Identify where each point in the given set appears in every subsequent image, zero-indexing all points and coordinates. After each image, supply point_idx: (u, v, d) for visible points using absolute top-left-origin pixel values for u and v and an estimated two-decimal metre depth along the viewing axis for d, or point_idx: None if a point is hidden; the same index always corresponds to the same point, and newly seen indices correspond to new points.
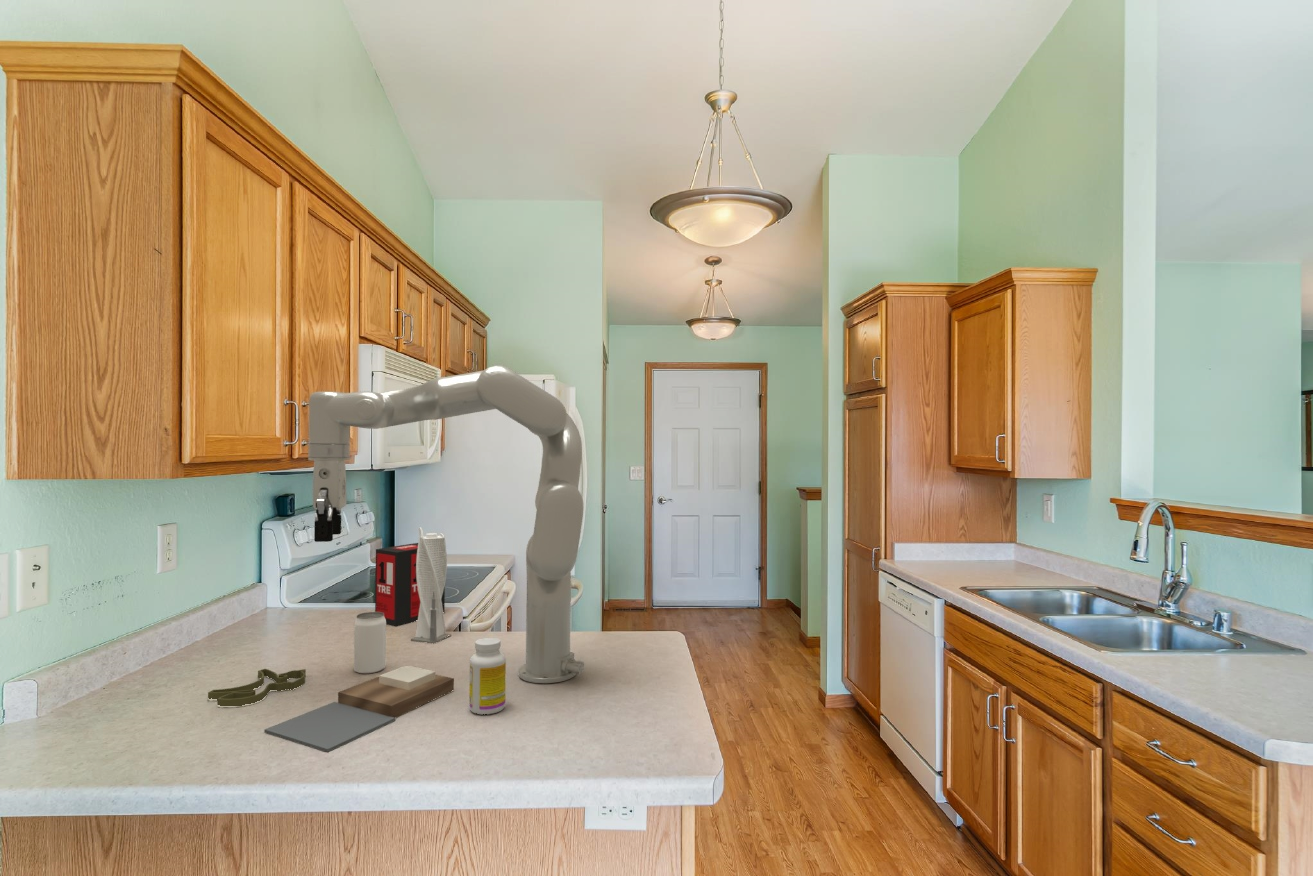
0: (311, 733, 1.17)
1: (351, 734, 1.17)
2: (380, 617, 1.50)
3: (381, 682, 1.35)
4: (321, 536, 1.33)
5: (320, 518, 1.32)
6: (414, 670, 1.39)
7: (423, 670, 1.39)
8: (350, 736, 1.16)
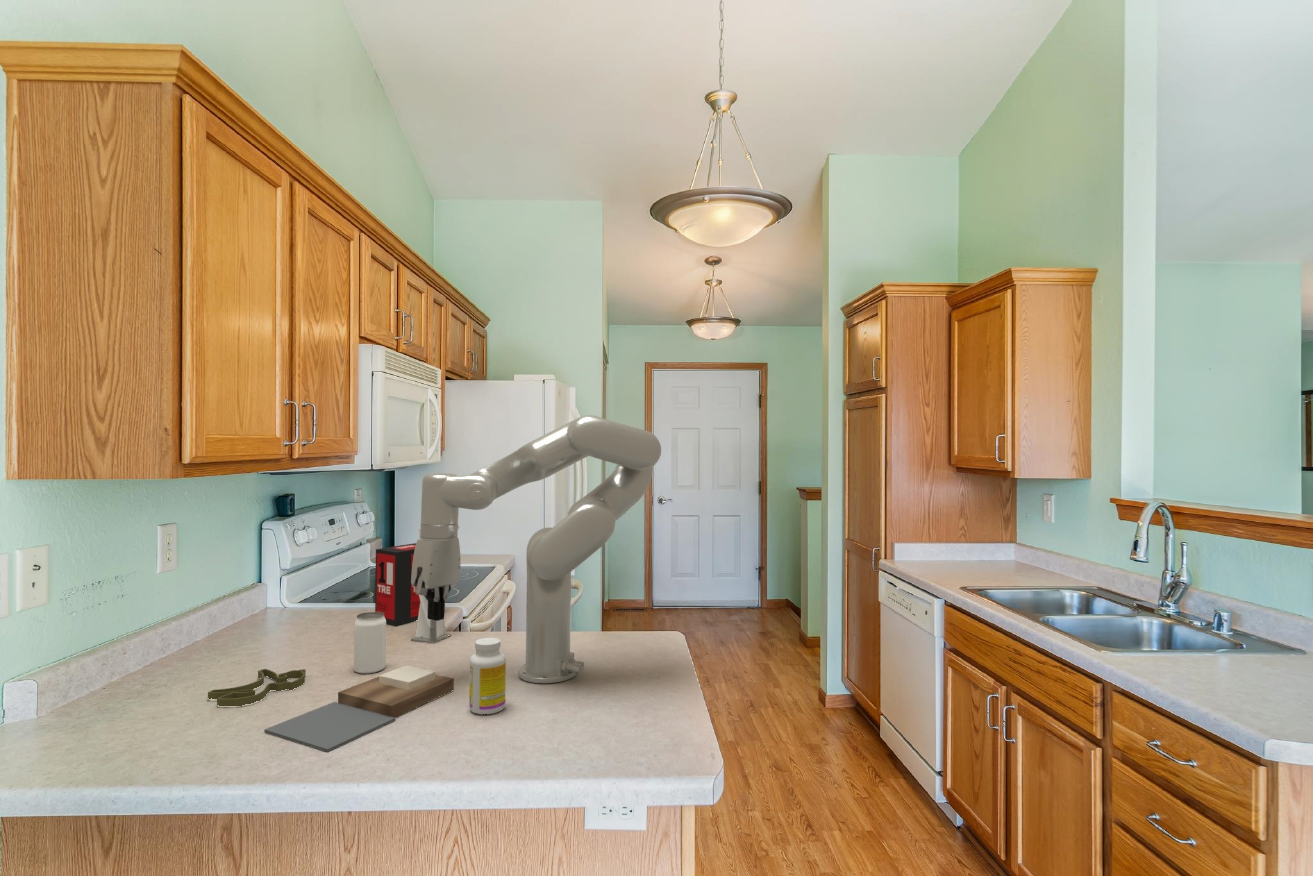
0: (311, 733, 1.17)
1: (351, 734, 1.17)
2: (380, 617, 1.50)
3: (381, 682, 1.35)
4: None
5: None
6: (414, 670, 1.39)
7: (423, 670, 1.39)
8: (350, 736, 1.16)
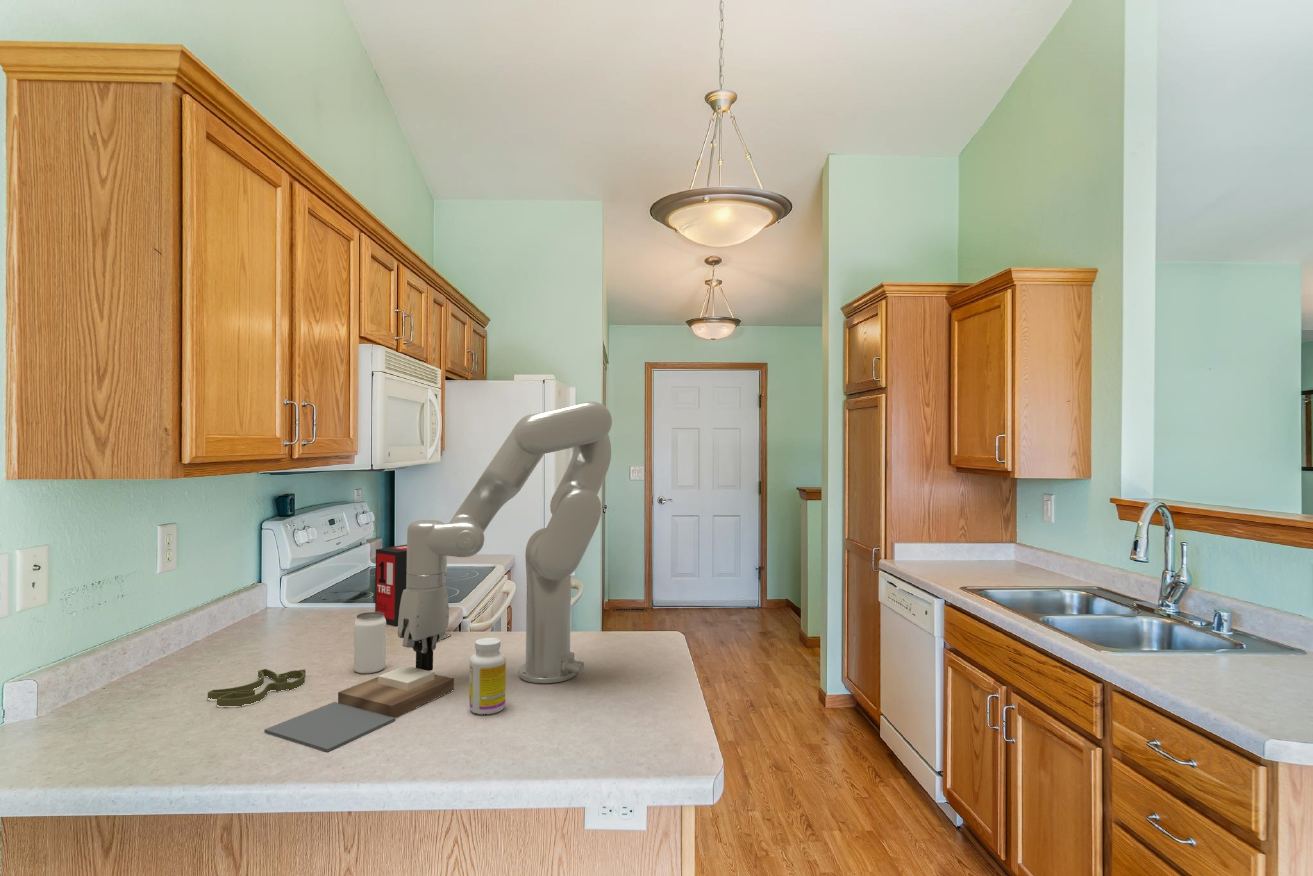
0: (311, 733, 1.17)
1: (351, 734, 1.17)
2: (380, 617, 1.50)
3: (380, 682, 1.35)
4: None
5: None
6: (413, 670, 1.38)
7: (422, 670, 1.38)
8: (350, 736, 1.16)
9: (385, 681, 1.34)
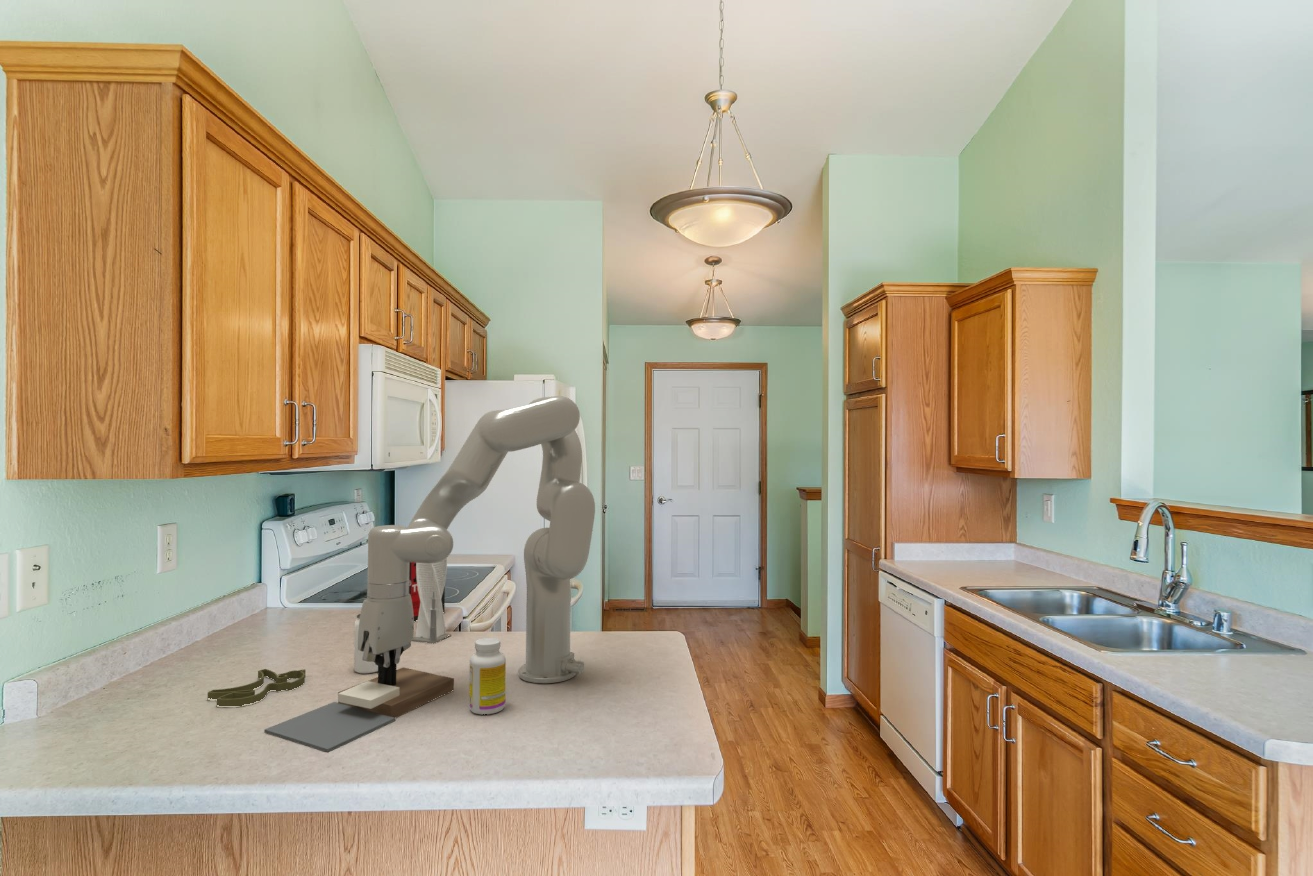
0: (311, 733, 1.17)
1: (351, 734, 1.17)
2: None
3: (340, 700, 1.26)
4: None
5: None
6: (376, 686, 1.29)
7: (386, 686, 1.30)
8: (350, 736, 1.16)
9: (346, 699, 1.25)
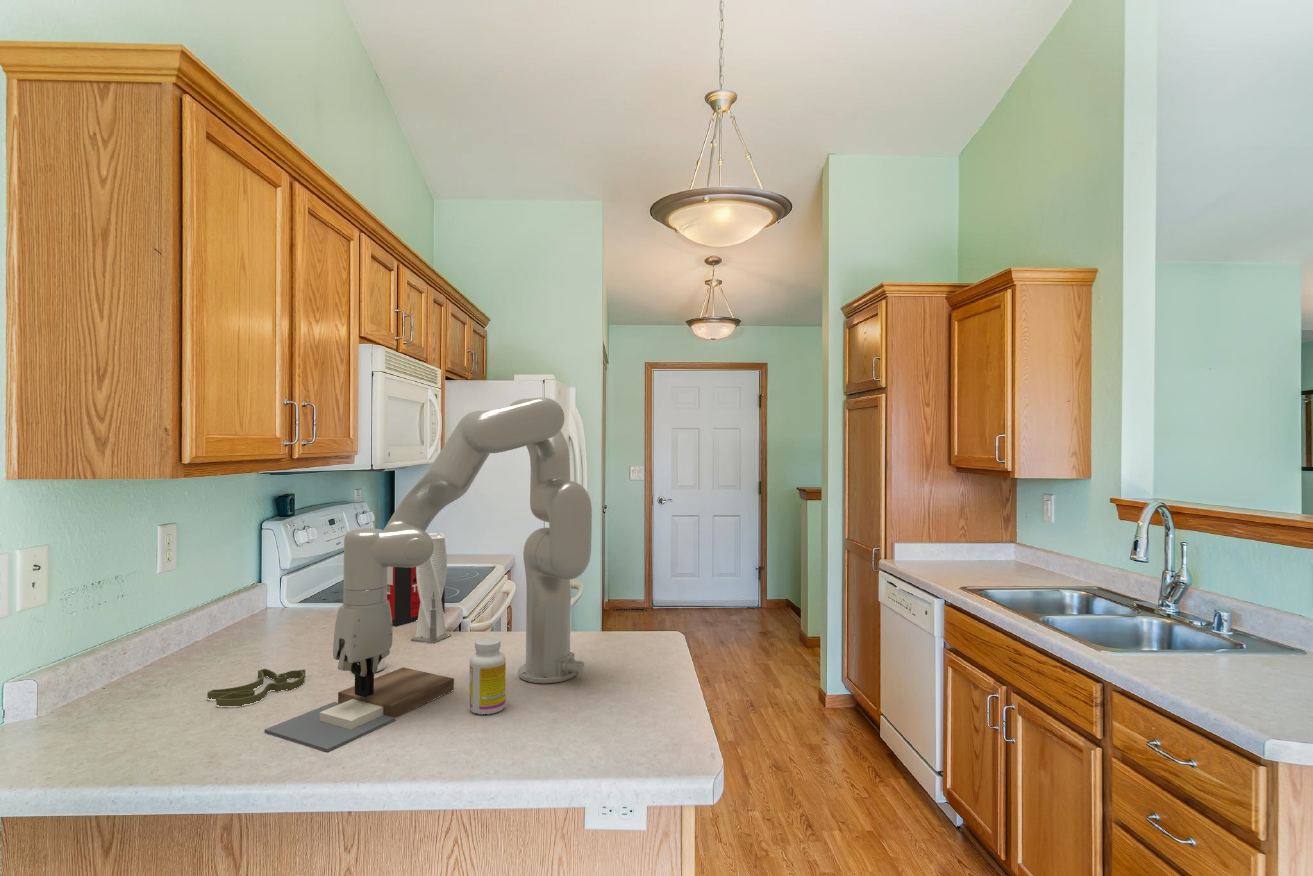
0: (311, 733, 1.17)
1: (351, 734, 1.17)
2: None
3: (322, 719, 1.22)
4: None
5: None
6: (360, 705, 1.25)
7: (370, 705, 1.26)
8: (350, 736, 1.16)
9: (327, 718, 1.21)
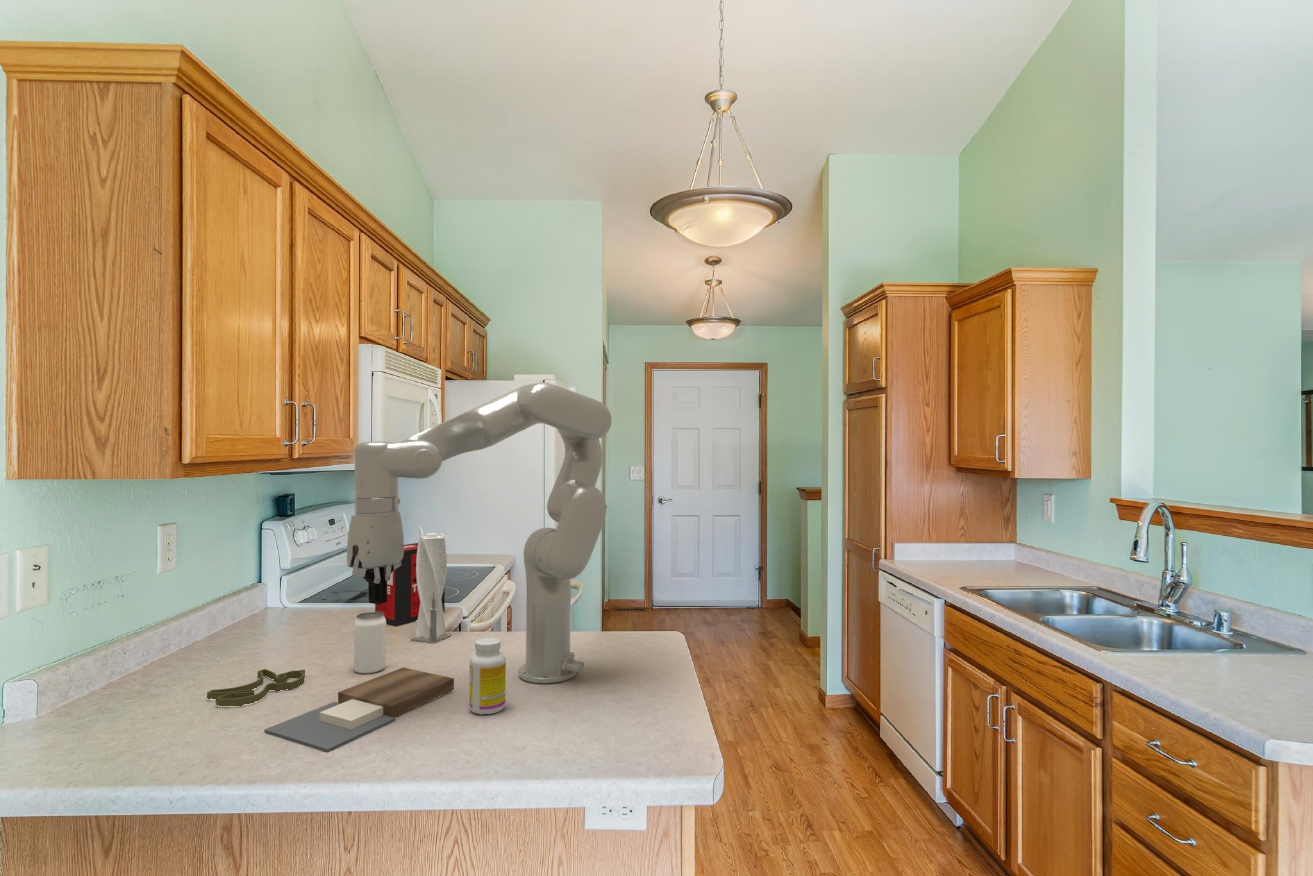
0: (311, 733, 1.17)
1: (351, 734, 1.17)
2: (380, 617, 1.50)
3: (322, 719, 1.22)
4: None
5: None
6: (360, 705, 1.25)
7: (370, 705, 1.26)
8: (350, 736, 1.16)
9: (327, 718, 1.21)
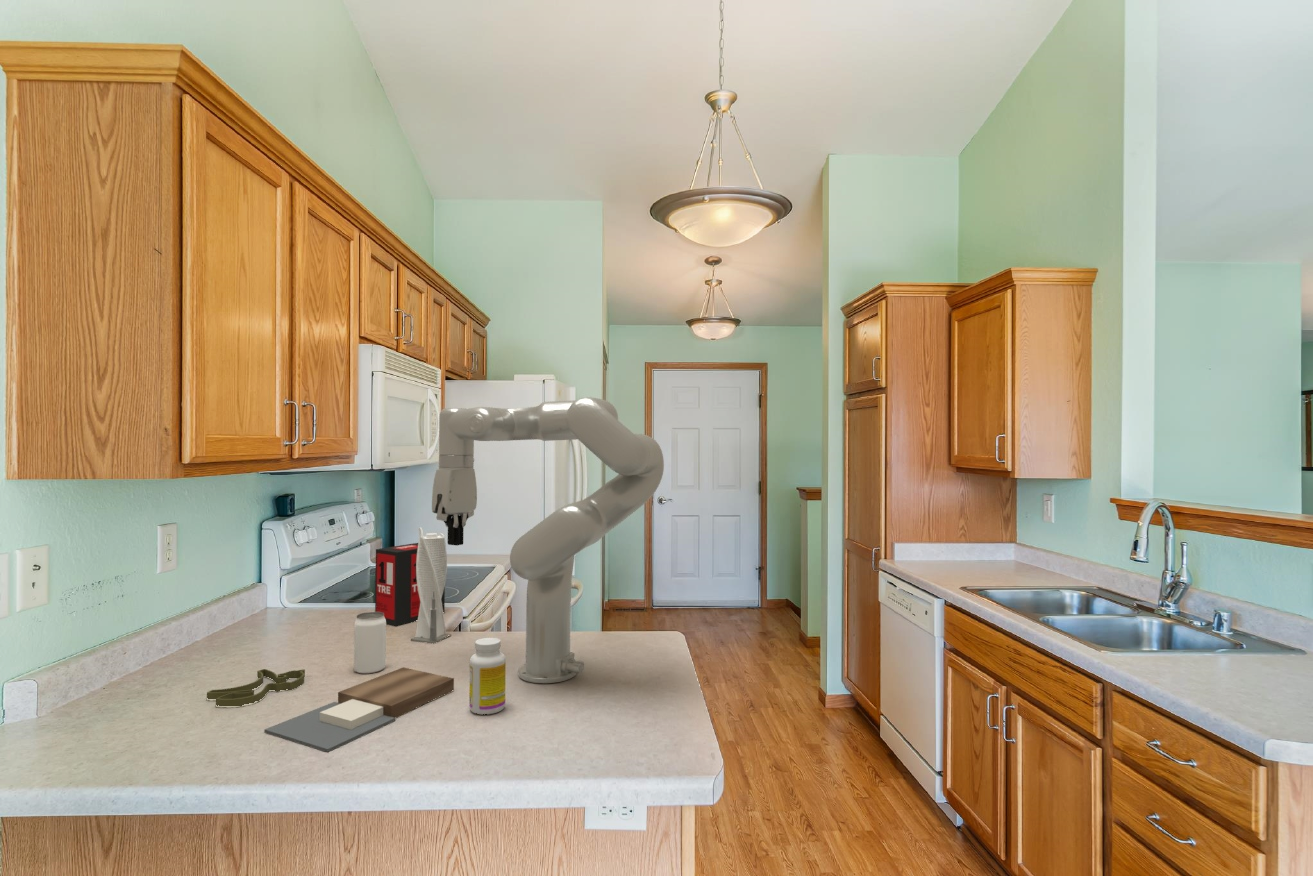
0: (311, 733, 1.17)
1: (351, 734, 1.17)
2: (380, 617, 1.50)
3: (322, 719, 1.22)
4: None
5: None
6: (360, 705, 1.25)
7: (370, 705, 1.26)
8: (350, 736, 1.16)
9: (327, 718, 1.21)
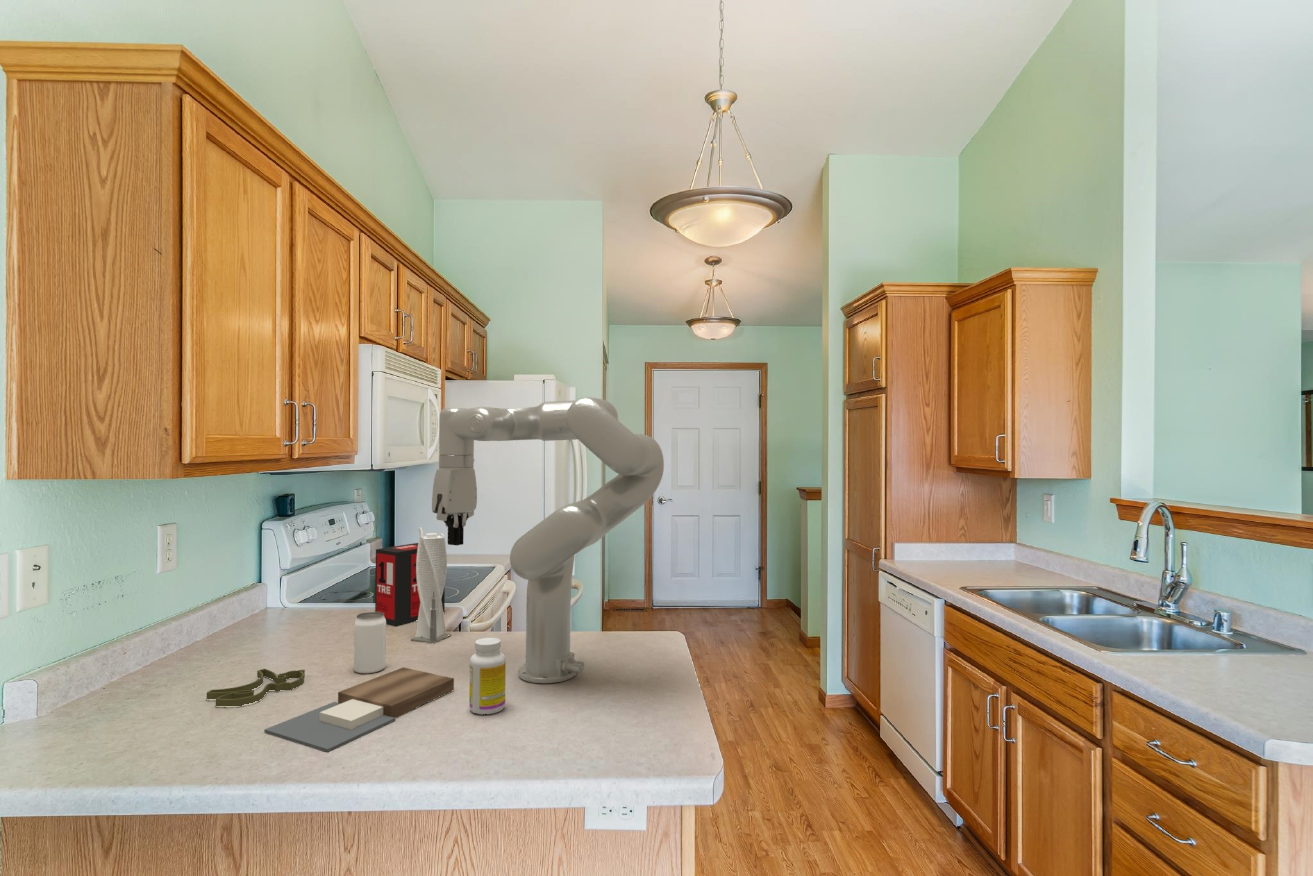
0: (311, 733, 1.17)
1: (351, 734, 1.17)
2: (380, 617, 1.50)
3: (322, 719, 1.22)
4: None
5: None
6: (360, 705, 1.25)
7: (370, 705, 1.26)
8: (350, 736, 1.16)
9: (327, 718, 1.21)
